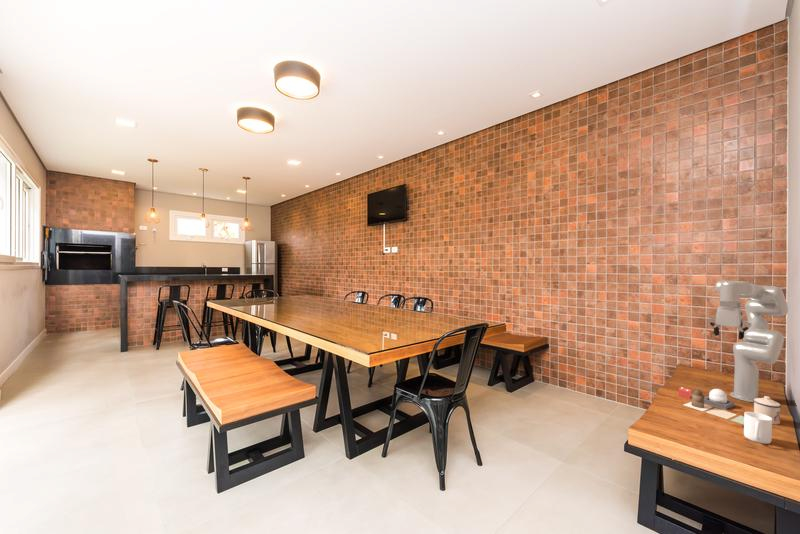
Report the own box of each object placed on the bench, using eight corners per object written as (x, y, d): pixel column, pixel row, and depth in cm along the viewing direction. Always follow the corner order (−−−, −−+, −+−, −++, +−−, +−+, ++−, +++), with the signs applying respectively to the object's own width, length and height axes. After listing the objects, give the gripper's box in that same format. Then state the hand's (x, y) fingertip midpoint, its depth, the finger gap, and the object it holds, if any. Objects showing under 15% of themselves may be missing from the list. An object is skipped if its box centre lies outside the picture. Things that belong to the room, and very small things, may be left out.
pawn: (694, 403, 182) (694, 387, 182) (706, 406, 178) (706, 390, 178) (689, 405, 180) (690, 388, 180) (701, 408, 176) (701, 392, 176)
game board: (691, 401, 187) (691, 399, 187) (768, 425, 160) (769, 423, 160) (678, 406, 181) (678, 404, 181) (757, 431, 154) (757, 429, 154)
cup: (771, 439, 148) (772, 416, 148) (771, 449, 140) (772, 425, 140) (744, 432, 154) (745, 409, 154) (742, 441, 146) (743, 417, 146)
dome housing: (710, 400, 189) (710, 395, 189) (734, 407, 180) (734, 402, 180) (701, 404, 184) (701, 398, 184) (725, 411, 175) (726, 405, 175)
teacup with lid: (780, 427, 159) (781, 402, 159) (752, 419, 166) (753, 396, 166) (781, 419, 167) (781, 395, 167) (754, 413, 174) (755, 390, 174)
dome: (712, 398, 187) (713, 385, 186) (729, 403, 180) (729, 390, 180) (706, 401, 183) (706, 388, 183) (723, 406, 177) (723, 392, 177)
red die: (679, 395, 195) (679, 386, 195) (690, 398, 192) (691, 388, 192) (678, 398, 192) (678, 388, 191) (690, 401, 188) (690, 390, 188)
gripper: (755, 306, 175) (753, 340, 175) (712, 302, 190) (711, 333, 191) (748, 307, 172) (747, 341, 172) (705, 303, 187) (704, 334, 187)
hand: (728, 337), depth 181 cm, fingers open, 9 cm apart
